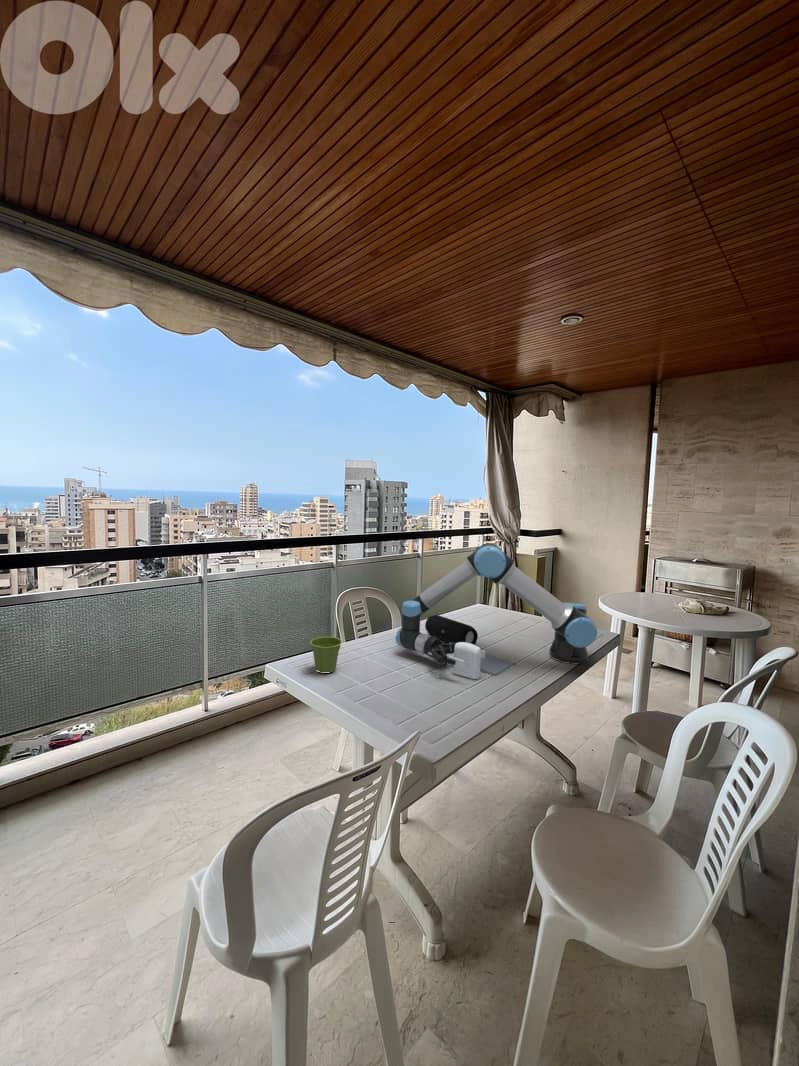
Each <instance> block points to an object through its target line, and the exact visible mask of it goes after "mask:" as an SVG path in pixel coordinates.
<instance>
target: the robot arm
mask: <svg viewBox="0 0 799 1066" xmlns="http://www.w3.org/2000/svg"><path fill="white" fill-rule="evenodd" d="M477 576H478V577H481V576H482V577H484V578H487V579H488V580H489V581H492V582H493V583H494V585H503V586H504V587H505V588H507V589H508V590H509V591H510V592H512V593H513V594H514V595H516V596H517V597H518V598H520V600H522V601H523V602H524V603H526V604H528V606H530V608H532V609H534V611H536V612H537V613H539V614H540V616H543V617H544V618H545V619H546V620H548V621H549V622H550V623H551V628H552V629H553V630H554V639H553V641H552V643H551V645H550V648H549V653H548V655H549V654H550V655H551V656H552V657H553V658H555V659H558V660H560V661H563V662H569V663H579V664H578V665H583V664H586V663H588V661H589V654H588V653H589V652H588V649H587V647H590V646H591V645H592V644H593V643H594V642H595V640H596V638H597V636H598V629H597V626H596V624H595V622H594V621H593V620H592V619H591V618H589V616H588V615H587V612H588V610H587V606H586V605H585V604H583V603H577V602H576V603H575V602H562V601H561V600H559V599H558V598H557V597H555V596H554V595H553V594H552V593H550V592H549V591H548V590H547V589H545V588H544V587H542V586H541V585H540V584H539V583H538V582H536V581H535V580H534V579H532V578H531V577H529V576H528V575H527V574H526V573H524V572H523V571H522V570H521V569H519V568H518V567H516V561H515V560H514V559H513V558H511V557H510V556H509V555H507V553H505V552H504V551H502V549H501V547H499V545H497V544H494V543H490V542H488V543H483V544H482V545H479V547H478V548H476V549H475V550H474V551H473V552H472V553H471V554H469V555H467V557H466V558H465V561H464V562H463V563H461V564H459V566H457V567H455V568H454V569H452V570H451V571H450V572H448V573H447V574H446V575H444V576H443V577H442V578H441V579H439V580H438V581H435V582H434V584H432V585H431V586H429V587H428V588H426V589H425V590H424V591H422V592H421V593H419V595H417V596H415V597H413V598H411V599H410V600H406V601H403V603H402V606H401V628H399V629H398V630H397V632H396V635H395V642H396V644H397V645H399V646H400V647H401V648H404V649H408V650H411V651H415V652H417V653H420V654H422V655H426V656H428V657H430V658H431V659H433V660H434V661H435V662H436V663H438V664H439V665H440V666H442V665H443V666H444V667H447V666H448V665H450V666H453V667H454V666H456V667H459V668H462V669H464V665H465V661H464V660H461V659H457V658H454V656H451V654H452V655H454V648H455V644H456V643H453V642H448V641H447V643H445V642H444V643H443V641H442V639H440V638H437V637H435V636H432V635H430V634H426V633H422V632H420V631H421V630H420V629H421V617H422V615H423V614H425V612H428V610H430V609H432V607H434V606H435V605H437V604H438V603H440V602H441V601H443V600H444V599H445V598H447V597H448V596H450V595H451V594H452V593H454V592H456V591H457V590H458V589H459V588H461V587H463V586H464V585H465V584H466V583H468V582H470V581H471V580H473V579H474V578H475V577H477ZM448 654H450V655H449V656H448ZM485 654H486V651H485V650H482V649H481V658H483V659H484V658H485ZM550 655H549V656H550ZM553 658H552V659H553ZM560 661H559V662H560ZM563 662H562V663H563Z"/></svg>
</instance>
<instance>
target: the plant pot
mask: <svg viewBox="0 0 799 1066" xmlns="http://www.w3.org/2000/svg"><path fill="white" fill-rule="evenodd" d="M342 643H343V640H342V639H340V638H338V637H335V636H320V637H316V638H313V639H311V640H310V641H309V644H310V646H311V650H312V653H313V660H314V667H315V671H316V670H318V671H320V672H331V671H334V670H335V671H336V668H337V663H338V658H339V657H338V656H339V651H340V649H341V645H342ZM335 671H334V672H335Z"/></svg>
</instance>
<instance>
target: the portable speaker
mask: <svg viewBox="0 0 799 1066" xmlns="http://www.w3.org/2000/svg"><path fill="white" fill-rule="evenodd" d="M424 628H425V630H426V631H427V633H428V635H430V636H433V637H436V638H439V639H440V640H441V641H445V642H447V643H448V642H453V643H458V642H466V643H471V644H473V645H476V643H478V642H477V641H478V639H479V637H478V635H479V634H478V631H477V630H476V629H475V628H474V627H473V626H471V625H469V624H465V623H463V622H459V621H457V620H455V619H454V620H453V619H451V618H448V617H444V616H442V615H438V614H435V615H430V616H428V617H427V618H426V620H425V627H424Z"/></svg>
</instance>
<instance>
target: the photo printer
mask: <svg viewBox="0 0 799 1066" xmlns="http://www.w3.org/2000/svg"><path fill="white" fill-rule="evenodd" d="M481 650H482V649H481V648H480V647H479V646H477V645H476V644H475V645H473V644H471V643H466V642H458V643H456V644H455V648H454V653H453V657H454V658H457V659H461V660H464V661H465V665H464V669H462V668H459V667H456V666H453V670H452V671H453V672H452V673H453V674H455V675H457V676H460V677H463V678H464V677H465V678H468V679H471V680H475V679H478V680H479V679H480V677H481V671H480V663H481Z"/></svg>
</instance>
